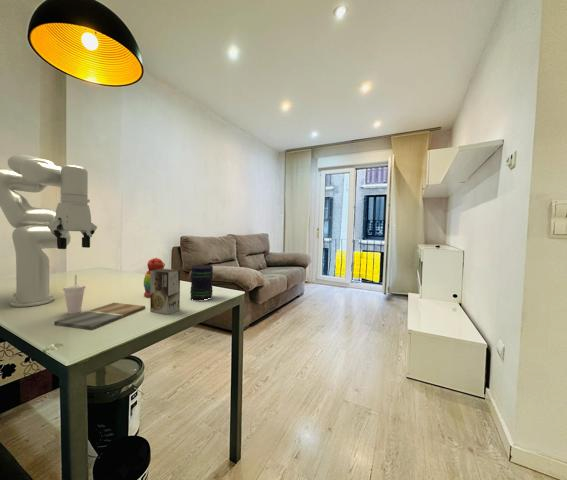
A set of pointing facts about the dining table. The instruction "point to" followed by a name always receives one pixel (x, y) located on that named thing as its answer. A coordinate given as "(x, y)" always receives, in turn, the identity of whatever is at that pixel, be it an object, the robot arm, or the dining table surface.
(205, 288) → the storage jar
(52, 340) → the dining table surface
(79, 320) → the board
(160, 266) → the stacking bear
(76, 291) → the smoothie
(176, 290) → the coffee box
